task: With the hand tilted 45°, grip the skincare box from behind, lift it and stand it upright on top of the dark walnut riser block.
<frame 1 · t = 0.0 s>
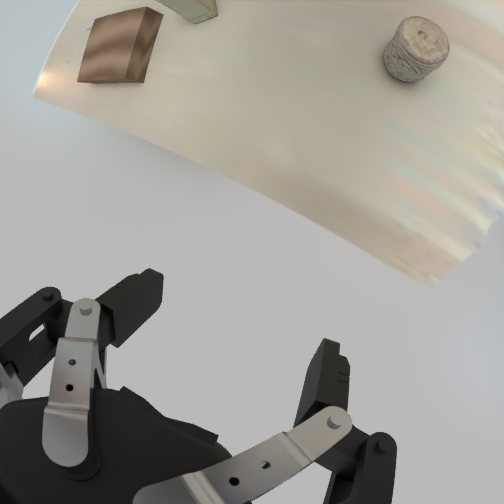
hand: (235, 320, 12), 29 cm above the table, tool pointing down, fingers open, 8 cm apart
carving: (402, 65, 27), on the table
skincare box: (203, 7, 30), on the table
walnut riser: (125, 49, 36), on the table
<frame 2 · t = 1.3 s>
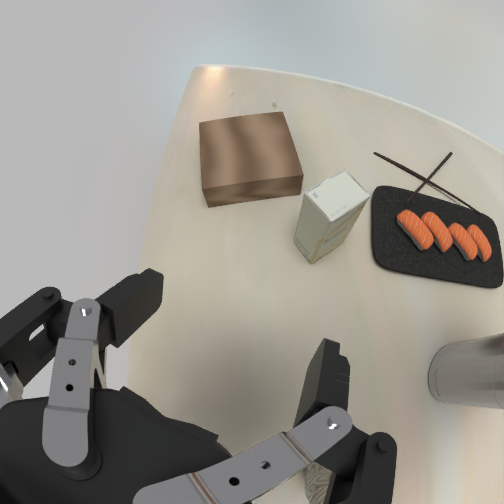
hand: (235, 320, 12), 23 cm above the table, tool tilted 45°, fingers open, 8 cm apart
carving: (327, 467, 27), on the table
skincare box: (318, 241, 38), on the table
walnut riser: (248, 165, 44), on the table
sushi plate: (438, 203, 41), on the table
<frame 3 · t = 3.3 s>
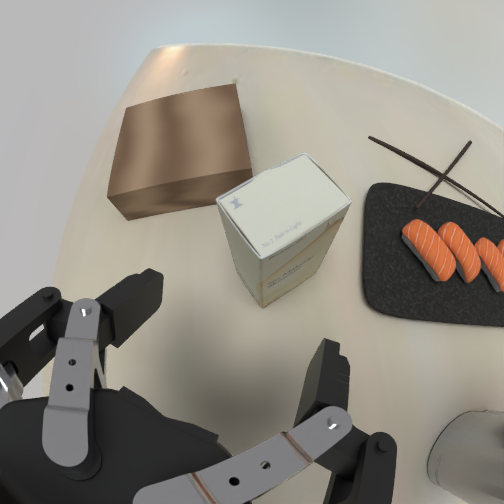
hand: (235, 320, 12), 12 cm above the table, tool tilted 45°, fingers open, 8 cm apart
skincare box: (277, 271, 25), on the table
walnut riser: (186, 159, 31), on the table
sushi plate: (458, 209, 27), on the table
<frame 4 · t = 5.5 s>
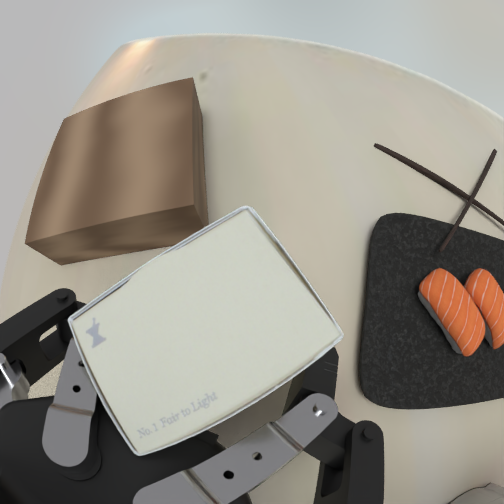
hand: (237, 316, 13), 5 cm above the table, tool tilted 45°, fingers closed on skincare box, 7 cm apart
skincare box: (237, 349, 17), on the table, touching gripper
walnut riser: (130, 181, 23), on the table
sushi plate: (486, 242, 20), on the table
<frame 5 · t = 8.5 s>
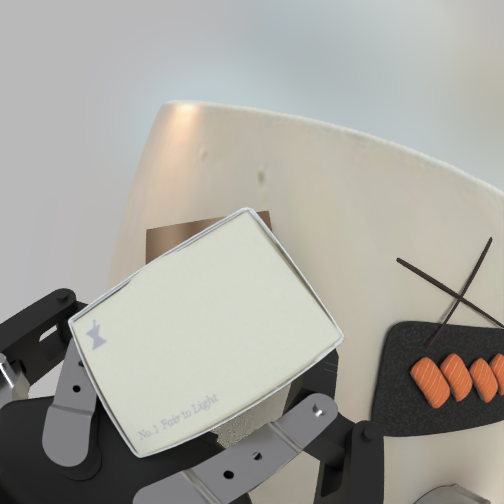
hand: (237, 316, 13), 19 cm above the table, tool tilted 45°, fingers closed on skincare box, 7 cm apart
skincare box: (237, 350, 17), point 13 cm above the table, touching gripper
walnut riser: (217, 292, 32), on the table
sushi plate: (466, 325, 29), on the table
when the fingers open (12 cm above the table, at t = 11.3 s): skincare box drops 1 cm, resting on walnut riser.
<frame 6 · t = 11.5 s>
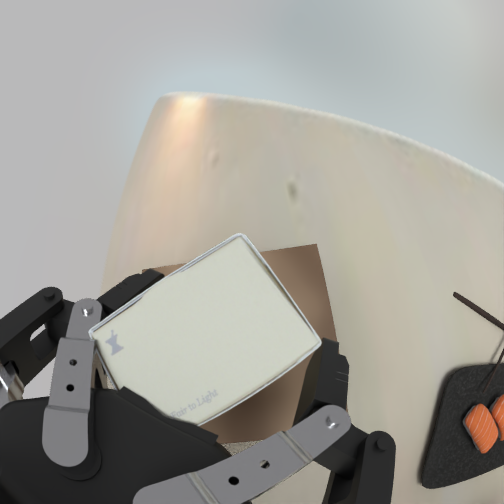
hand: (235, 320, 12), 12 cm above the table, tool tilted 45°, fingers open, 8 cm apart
skincare box: (236, 351, 19), point 5 cm above the table, touching walnut riser
walnut riser: (244, 350, 23), on the table
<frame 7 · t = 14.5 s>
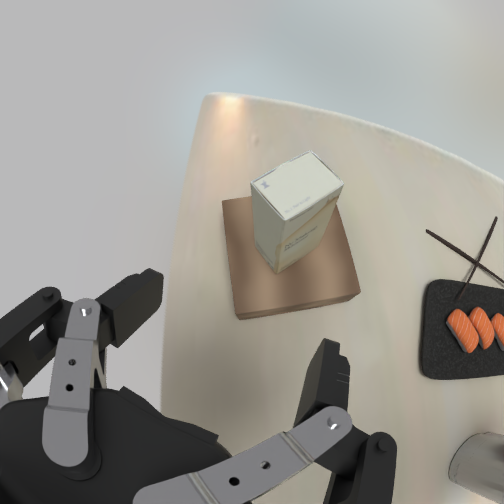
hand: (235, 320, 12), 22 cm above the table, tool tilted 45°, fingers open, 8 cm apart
skincare box: (287, 245, 31), point 5 cm above the table, touching walnut riser
walnut riser: (285, 258, 36), on the table
sushi plate: (483, 287, 33), on the table
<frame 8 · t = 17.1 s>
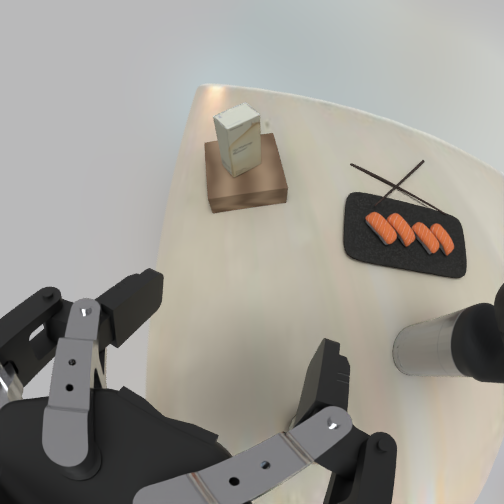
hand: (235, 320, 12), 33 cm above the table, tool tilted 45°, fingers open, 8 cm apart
skincare box: (242, 164, 50), point 5 cm above the table, touching walnut riser
walnut riser: (244, 178, 54), on the table
sushi plate: (406, 206, 51), on the table
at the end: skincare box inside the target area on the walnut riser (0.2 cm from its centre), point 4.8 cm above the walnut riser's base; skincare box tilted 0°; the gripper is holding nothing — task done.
